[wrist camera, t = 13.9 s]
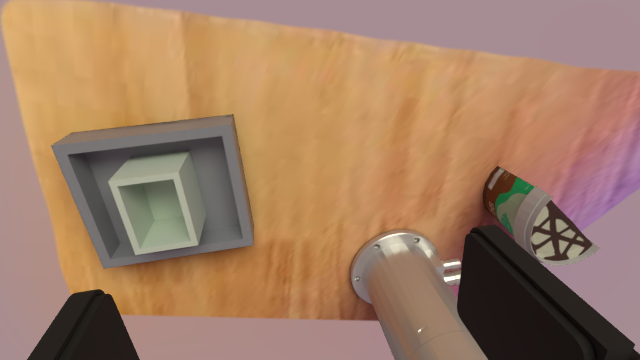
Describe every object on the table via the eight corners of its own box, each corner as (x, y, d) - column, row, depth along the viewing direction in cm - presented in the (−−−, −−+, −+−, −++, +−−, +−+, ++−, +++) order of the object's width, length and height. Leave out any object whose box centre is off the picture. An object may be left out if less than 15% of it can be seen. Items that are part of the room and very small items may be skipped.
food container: (456, 194, 46) (504, 236, 37) (491, 159, 45) (550, 194, 36) (506, 238, 51) (560, 285, 42) (539, 208, 49) (602, 250, 40)
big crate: (233, 114, 37) (230, 124, 33) (253, 226, 43) (253, 245, 39) (71, 132, 35) (50, 145, 31) (117, 246, 41) (103, 268, 37)
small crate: (189, 149, 37) (178, 172, 31) (206, 215, 40) (198, 245, 35) (130, 157, 36) (107, 181, 31) (151, 222, 39) (135, 255, 34)
